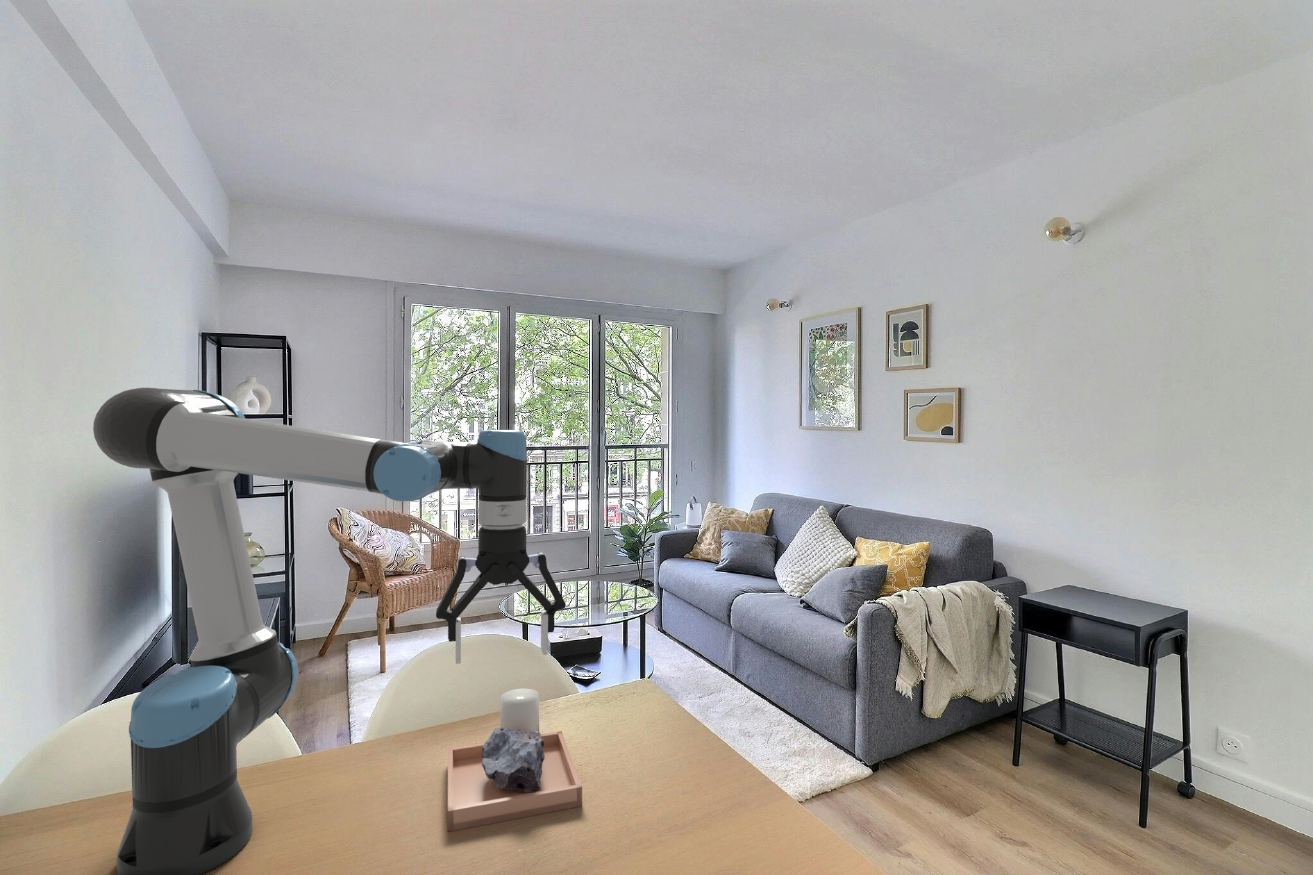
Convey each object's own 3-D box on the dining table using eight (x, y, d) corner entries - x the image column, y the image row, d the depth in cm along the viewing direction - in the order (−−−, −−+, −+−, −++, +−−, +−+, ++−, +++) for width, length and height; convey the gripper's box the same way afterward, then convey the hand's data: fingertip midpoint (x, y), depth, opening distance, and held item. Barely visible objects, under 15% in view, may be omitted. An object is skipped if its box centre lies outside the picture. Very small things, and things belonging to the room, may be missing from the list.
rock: (552, 791, 97) (552, 719, 101) (483, 798, 94) (486, 723, 98) (538, 789, 109) (539, 725, 113) (477, 795, 106) (480, 729, 110)
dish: (448, 831, 92) (447, 811, 92) (447, 765, 110) (447, 748, 110) (582, 805, 98) (582, 786, 98) (561, 747, 116) (561, 731, 116)
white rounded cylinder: (502, 750, 115) (502, 706, 115) (499, 732, 122) (499, 691, 121) (541, 744, 117) (541, 701, 117) (536, 727, 124) (536, 686, 124)
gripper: (419, 532, 96) (419, 673, 96) (583, 526, 104) (582, 656, 104) (421, 524, 103) (421, 655, 104) (575, 519, 111) (574, 641, 111)
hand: (502, 656), depth 104 cm, fingers open, 13 cm apart
